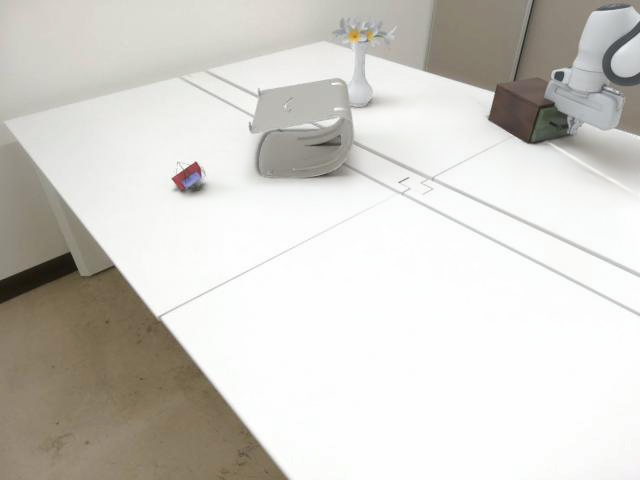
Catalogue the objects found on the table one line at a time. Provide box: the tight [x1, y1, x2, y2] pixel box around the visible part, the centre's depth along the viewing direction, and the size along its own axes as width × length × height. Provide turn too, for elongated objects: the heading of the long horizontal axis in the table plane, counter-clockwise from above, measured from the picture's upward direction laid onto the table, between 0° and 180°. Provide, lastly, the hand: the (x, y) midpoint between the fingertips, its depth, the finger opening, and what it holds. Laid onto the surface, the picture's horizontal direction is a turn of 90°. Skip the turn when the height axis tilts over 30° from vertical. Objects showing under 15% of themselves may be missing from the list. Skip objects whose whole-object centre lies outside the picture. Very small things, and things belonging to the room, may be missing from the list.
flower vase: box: [331, 14, 398, 108], centre depth 137 cm, size 13×18×25 cm
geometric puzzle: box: [170, 160, 207, 192], centre depth 104 cm, size 7×7×8 cm
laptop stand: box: [248, 77, 355, 179], centre depth 114 cm, size 26×24×16 cm
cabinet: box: [487, 76, 555, 145], centre depth 127 cm, size 17×15×11 cm
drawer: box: [531, 106, 583, 143], centre depth 124 cm, size 20×13×9 cm
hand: (571, 133), depth 117 cm, fingers closed, pressing on drawer
